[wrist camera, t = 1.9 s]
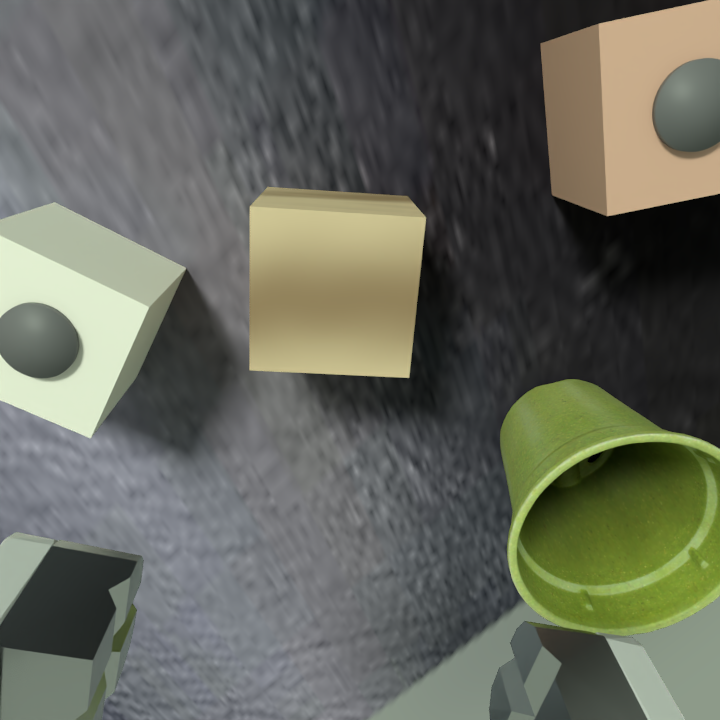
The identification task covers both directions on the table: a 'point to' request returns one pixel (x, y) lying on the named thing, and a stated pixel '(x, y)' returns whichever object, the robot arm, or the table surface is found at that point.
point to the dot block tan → (635, 110)
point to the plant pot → (608, 512)
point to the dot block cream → (75, 314)
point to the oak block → (334, 282)
